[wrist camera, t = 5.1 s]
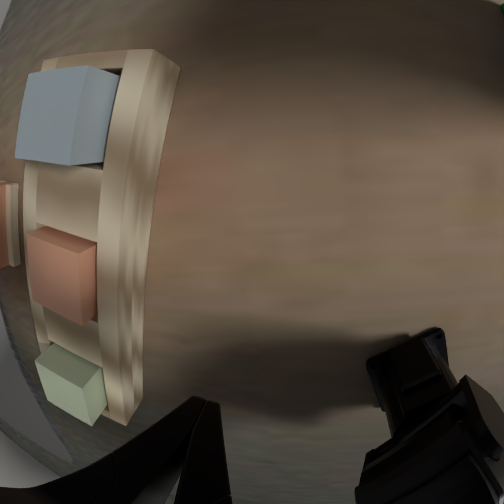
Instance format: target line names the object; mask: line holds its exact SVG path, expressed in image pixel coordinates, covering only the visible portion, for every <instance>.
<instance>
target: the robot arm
mask: <svg viewBox="0 0 504 504" xmlns="http://www.w3.org/2000/svg"><path fill="white" fill-rule="evenodd" d="M438 334H439V335H438ZM437 335H438V336H437ZM373 363H374V365H371V364H373ZM366 368H367V371H368V373H369V376H370V379H371V382H372V384H373V387H374V390H375V393H376V396H377V398H378V401H379V404H380V407H381V410H382V411H383V412H386V416H387V420H388V424H389V429H390V433H391V437H392V438H391V439H389V440H388V441H386V442H385V443H383V444H382V445H380V446H379V447H377V448H376V449H372V450H371V451H369V452H367V453H366V457H365V461H364V466H363V470H362V473H361V477H360V482H359V486H357V487H356V488H355V502H356V504H504V413H503V411H502V410H501V408H500V407H499V405H498V404H497V402H496V401H495V399H494V398H493V396H492V395H491V394H490V393H488V392H487V391H486V390H485V389H483V388H482V387H481V386H480V385H478V384H477V383H476V382H475V381H473V380H472V379H471V378H470V377H468V376H467V375H465V376H464V377H463V378H462V379H461V380H459V381H460V382H459V383H457V381H456V379H455V377H454V375H453V374H452V372H451V370H450V368H449V363H448V355H447V347H446V339H445V333H444V331H443V330H442V329H441V328H437V329H435V330H433V331H430V332H428V333H426V334H424V335H422V336H420V337H418V338H416V339H414V340H412V341H410V342H407V343H405V344H403V345H401V346H398V347H396V348H394V349H392V350H389V351H387V352H384V353H382V354H380V355H377V356H375V357H372V358H370V359H368V360H367V361H366ZM180 474H181V476H180ZM179 476H180V480H179V485H178V489H177V493H176V497H175V501H174V504H232V497H231V496H230V495H231V491H230V484H229V477H228V470H227V462H226V454H225V446H224V438H223V429H222V420H221V411H220V404H219V403H217V402H214V401H211V400H207V401H206V400H205V399H204V398H201V397H198V396H191V397H190V398H189V399H187V400H186V401H185V402H183V403H182V404H180V405H179V406H178V407H176V408H175V409H174V410H172V411H171V412H170V413H168V414H167V415H165V416H164V417H163V418H161V419H160V420H158V421H157V422H155V423H154V424H153V425H151V426H150V427H148V428H147V429H145V430H144V431H143V432H141V433H140V434H138V435H137V436H135V437H134V438H132V439H131V440H129V441H128V442H126V443H125V444H123V445H122V446H120V447H119V448H117V449H115V450H114V451H113V452H112V453H109V454H107V455H106V456H104V457H103V458H101V459H99V460H98V461H96V462H94V463H92V464H91V465H89V466H87V467H85V468H83V469H80V470H78V471H76V472H74V473H71V474H69V475H66V476H64V477H61V478H59V479H56V480H53V481H51V482H48V483H45V484H42V485H39V486H36V487H31V488H7V487H0V504H164V503H165V502H166V500H167V498H168V496H169V495H170V493H171V491H172V489H173V487H174V485H175V484H176V482H177V480H178V478H179Z"/></svg>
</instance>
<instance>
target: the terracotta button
mask: <svg viewBox="0 0 504 504" xmlns="http://www.w3.org/2000/svg"><path fill="white" fill-rule="evenodd" d="M27 251H28V264H29V274H30V283H31V291H32V298H33V301H35V302H37V303H39V304H40V305H42V306H44V307H46V308H48V309H50V310H52V311H54V312H55V313H57V314H59V315H61V316H63V317H65V318H67V319H69V320H71V321H73V322H75V323H77V324H80V325H82V326H83V325H84V324H86V323H87V322H88V321H89V320H90V319H91V318H92V317H94V316H95V315H96V314H97V313H98V308H97V242H94V241H91V240H88V239H85V238H82V237H79V236H76V235H73V234H70V233H67V232H64V231H61V230H58V229H55V228H52V227H49V226H46V227H43V228H40V229H38V230H35V231H33V232H30V233H28V234H27Z"/></svg>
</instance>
